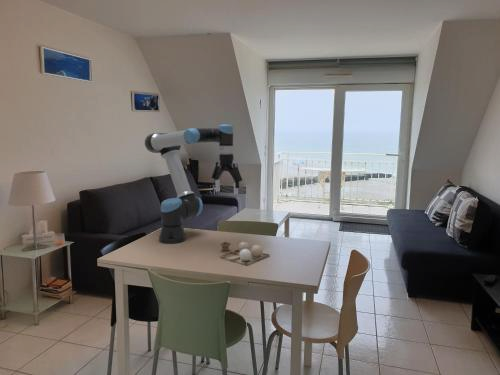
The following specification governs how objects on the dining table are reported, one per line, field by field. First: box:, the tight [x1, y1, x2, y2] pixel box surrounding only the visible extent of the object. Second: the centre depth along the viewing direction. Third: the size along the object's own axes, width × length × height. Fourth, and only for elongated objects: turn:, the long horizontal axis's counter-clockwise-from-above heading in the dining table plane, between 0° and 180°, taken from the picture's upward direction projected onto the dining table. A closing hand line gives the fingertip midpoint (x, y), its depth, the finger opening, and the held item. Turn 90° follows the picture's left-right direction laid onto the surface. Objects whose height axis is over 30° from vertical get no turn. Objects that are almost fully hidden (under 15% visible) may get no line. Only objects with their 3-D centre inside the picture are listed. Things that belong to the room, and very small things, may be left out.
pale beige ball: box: [237, 241, 251, 252], centre depth 203 cm, size 6×6×6 cm
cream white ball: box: [250, 244, 264, 257], centre depth 197 cm, size 6×6×6 cm
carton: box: [219, 248, 270, 267], centre depth 197 cm, size 18×18×2 cm
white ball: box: [239, 249, 252, 262], centre depth 191 cm, size 6×6×6 cm
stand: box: [219, 241, 231, 254], centre depth 207 cm, size 5×5×5 cm
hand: (226, 192), depth 216 cm, fingers open, 13 cm apart
